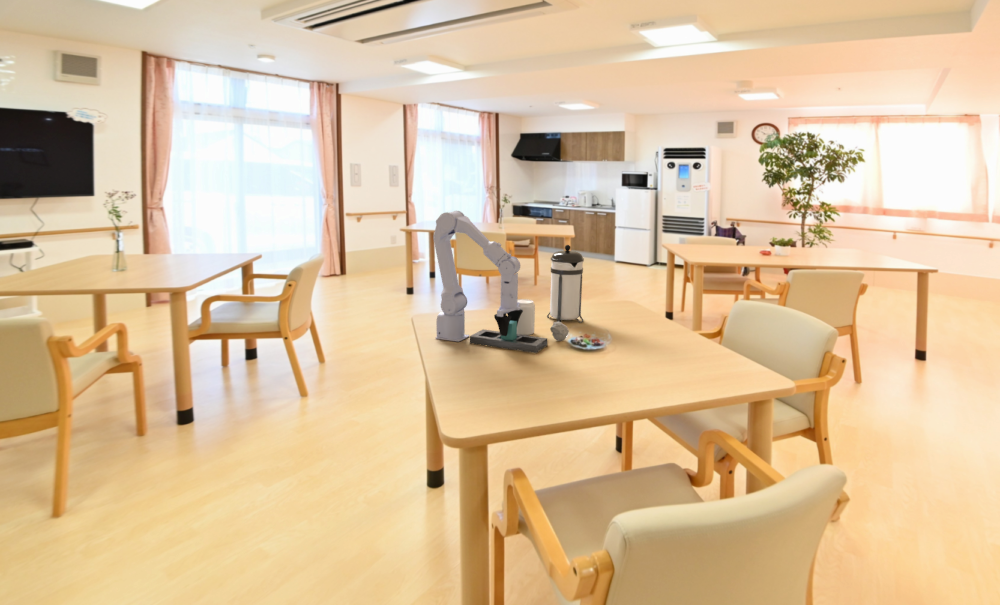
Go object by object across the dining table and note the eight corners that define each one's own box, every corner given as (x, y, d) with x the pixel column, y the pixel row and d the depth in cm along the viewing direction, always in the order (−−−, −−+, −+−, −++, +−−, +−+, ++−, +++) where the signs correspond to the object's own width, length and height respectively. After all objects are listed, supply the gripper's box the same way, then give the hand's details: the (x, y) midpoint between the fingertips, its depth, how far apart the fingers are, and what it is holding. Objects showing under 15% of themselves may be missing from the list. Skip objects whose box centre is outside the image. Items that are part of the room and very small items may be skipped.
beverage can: (538, 332, 220) (539, 300, 217) (527, 337, 213) (527, 304, 210) (519, 329, 224) (519, 297, 221) (507, 334, 217) (508, 301, 215)
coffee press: (591, 318, 241) (594, 244, 234) (573, 327, 228) (577, 248, 221) (552, 312, 250) (555, 240, 243) (533, 320, 237) (535, 244, 230)
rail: (469, 343, 205) (469, 336, 205) (483, 336, 214) (483, 329, 214) (536, 353, 195) (536, 345, 195) (547, 345, 204) (547, 338, 204)
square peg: (500, 345, 204) (501, 322, 202) (505, 342, 207) (506, 319, 206) (511, 346, 202) (512, 323, 200) (516, 343, 206) (516, 321, 204)
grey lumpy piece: (545, 341, 209) (546, 321, 208) (559, 337, 214) (559, 318, 212) (559, 344, 205) (560, 325, 203) (572, 340, 210) (573, 321, 208)
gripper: (511, 299, 193) (510, 339, 196) (528, 291, 206) (527, 329, 209) (491, 296, 196) (490, 336, 199) (509, 288, 209) (509, 326, 212)
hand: (508, 332), depth 204 cm, fingers open, 7 cm apart
